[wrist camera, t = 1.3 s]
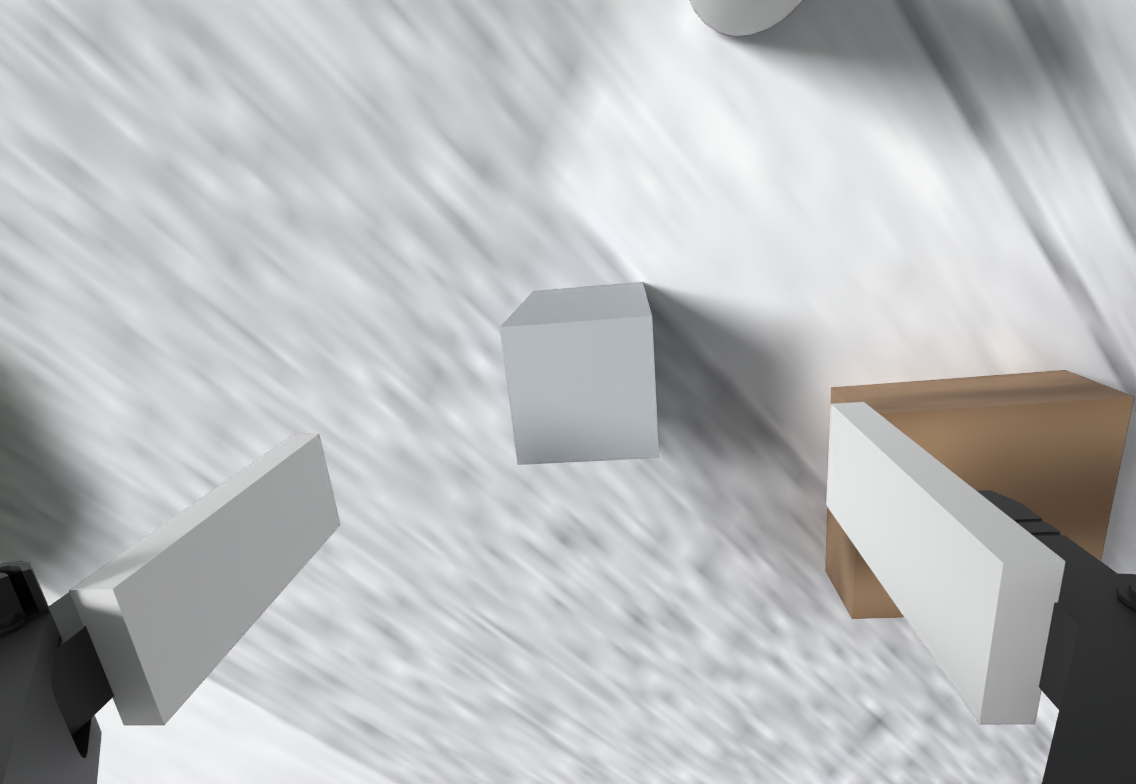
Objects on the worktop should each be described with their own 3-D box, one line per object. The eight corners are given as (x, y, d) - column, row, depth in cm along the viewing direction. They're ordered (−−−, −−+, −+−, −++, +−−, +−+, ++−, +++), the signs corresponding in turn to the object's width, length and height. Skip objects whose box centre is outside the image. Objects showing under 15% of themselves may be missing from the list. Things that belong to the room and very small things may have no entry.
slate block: (533, 291, 27) (499, 327, 19) (642, 282, 26) (652, 315, 19) (545, 393, 28) (517, 464, 21) (648, 387, 28) (659, 457, 20)
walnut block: (828, 385, 27) (862, 415, 23) (1059, 367, 26) (1133, 396, 22) (823, 566, 30) (851, 618, 27) (1029, 558, 29) (1090, 611, 25)
